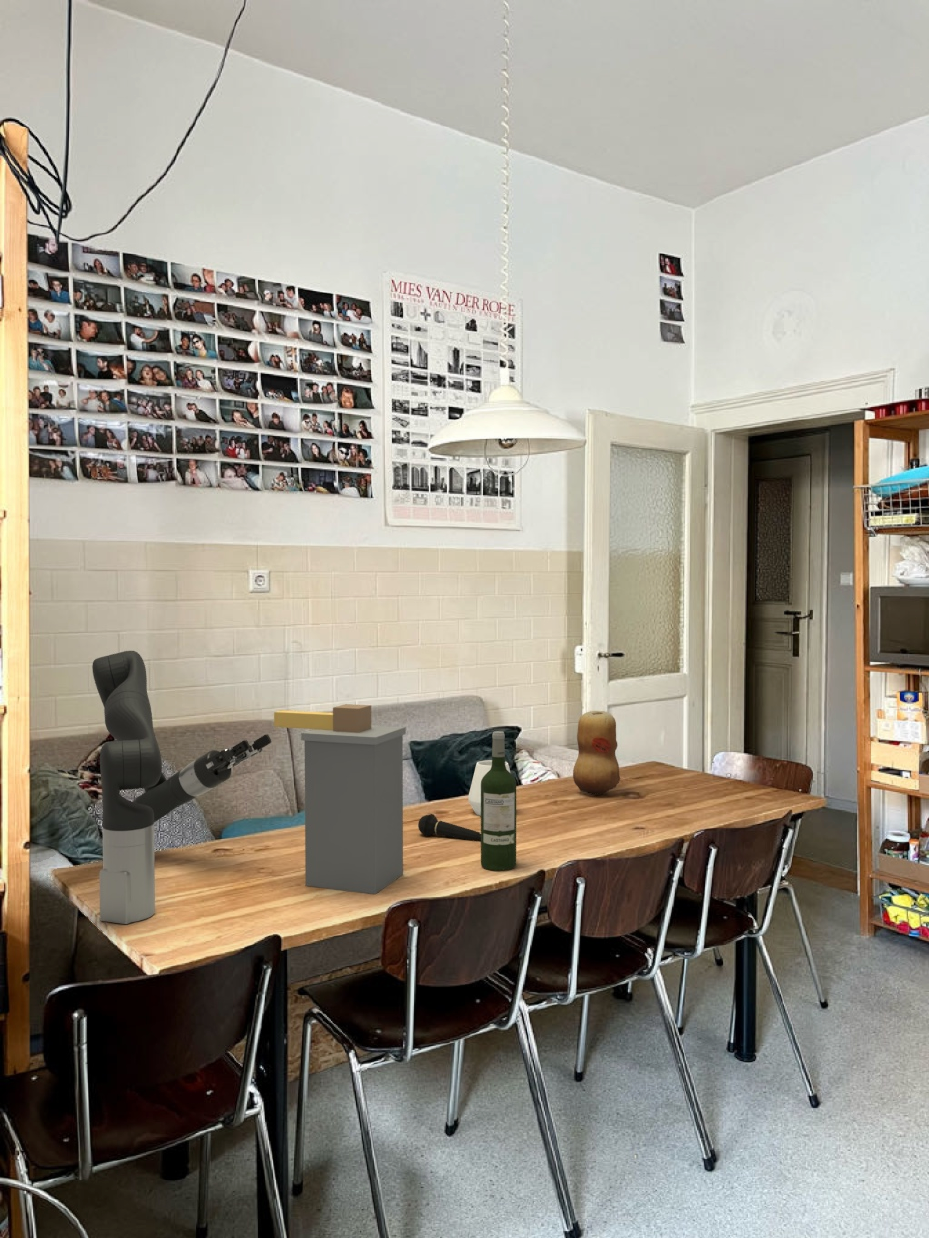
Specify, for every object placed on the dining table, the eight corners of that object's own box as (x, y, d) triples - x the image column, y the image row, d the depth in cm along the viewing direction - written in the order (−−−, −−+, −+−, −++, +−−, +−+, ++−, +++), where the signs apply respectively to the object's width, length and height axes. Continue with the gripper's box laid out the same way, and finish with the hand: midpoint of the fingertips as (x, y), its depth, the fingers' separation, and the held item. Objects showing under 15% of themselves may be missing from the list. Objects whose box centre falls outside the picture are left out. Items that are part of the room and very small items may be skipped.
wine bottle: (486, 872, 206) (486, 735, 205) (476, 862, 214) (476, 730, 213) (521, 869, 208) (521, 733, 207) (509, 859, 216) (509, 728, 215)
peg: (270, 727, 203) (270, 704, 203) (285, 723, 209) (285, 701, 209) (358, 732, 196) (358, 708, 196) (371, 728, 202) (371, 705, 202)
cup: (461, 816, 256) (461, 765, 256) (475, 806, 269) (475, 757, 269) (509, 820, 253) (510, 768, 252) (521, 809, 265) (521, 759, 265)
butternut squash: (578, 799, 277) (578, 714, 276) (569, 790, 291) (569, 708, 290) (624, 798, 278) (624, 714, 278) (613, 789, 292) (614, 708, 291)
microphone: (494, 852, 233) (420, 835, 240) (499, 829, 234) (425, 812, 242) (487, 851, 228) (412, 833, 235) (492, 827, 229) (418, 810, 237)
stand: (302, 886, 197) (301, 733, 196) (336, 866, 211) (335, 723, 210) (376, 895, 191) (375, 737, 190) (406, 874, 205) (405, 727, 204)
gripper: (178, 764, 207) (232, 730, 202) (216, 753, 220) (268, 721, 215) (193, 794, 206) (248, 761, 201) (230, 782, 219) (283, 750, 214)
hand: (258, 740), depth 208 cm, fingers open, 8 cm apart
